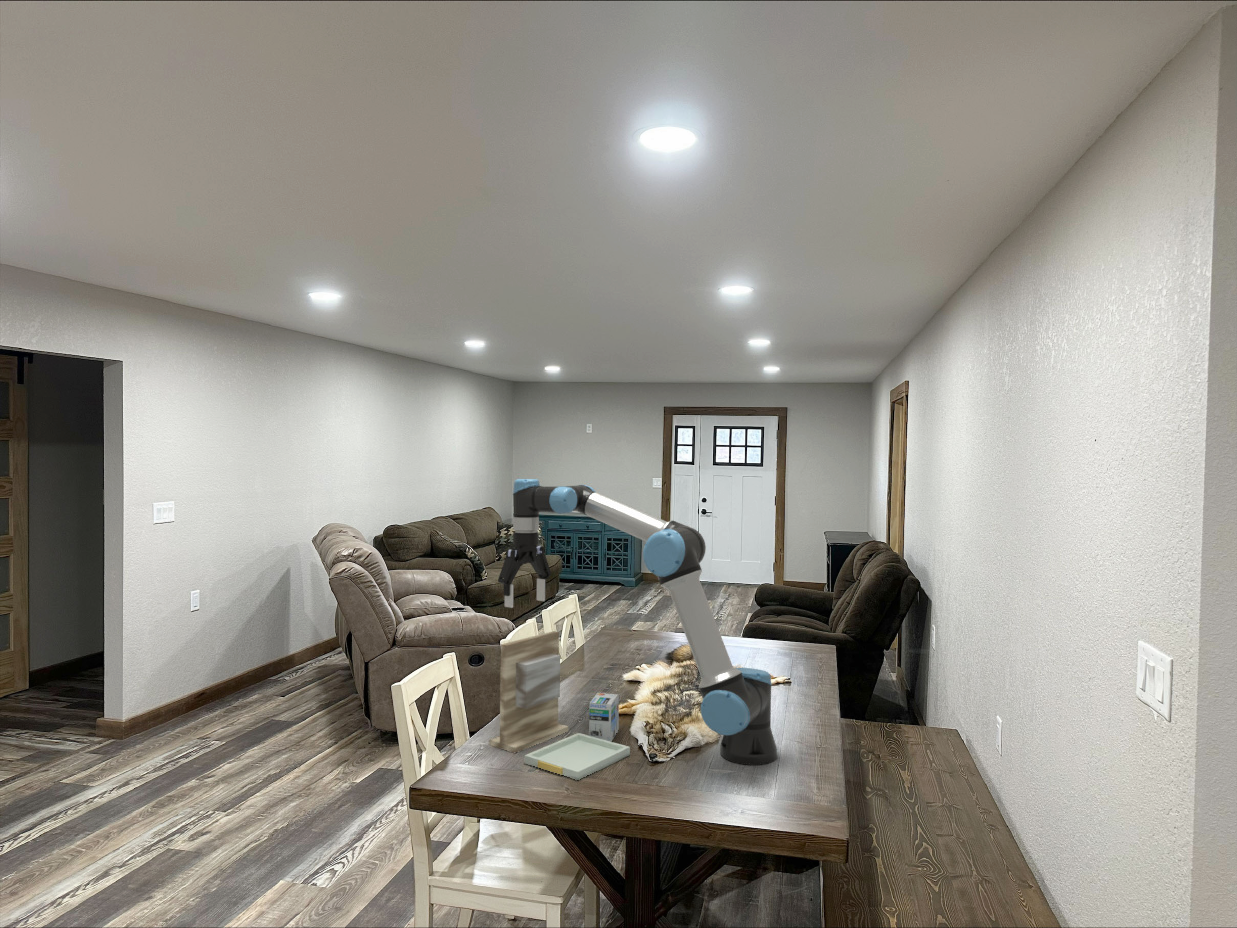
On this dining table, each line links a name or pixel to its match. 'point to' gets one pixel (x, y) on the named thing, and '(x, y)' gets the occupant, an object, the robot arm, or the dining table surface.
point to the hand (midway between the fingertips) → (525, 603)
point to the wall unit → (529, 692)
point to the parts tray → (577, 756)
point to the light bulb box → (604, 716)
